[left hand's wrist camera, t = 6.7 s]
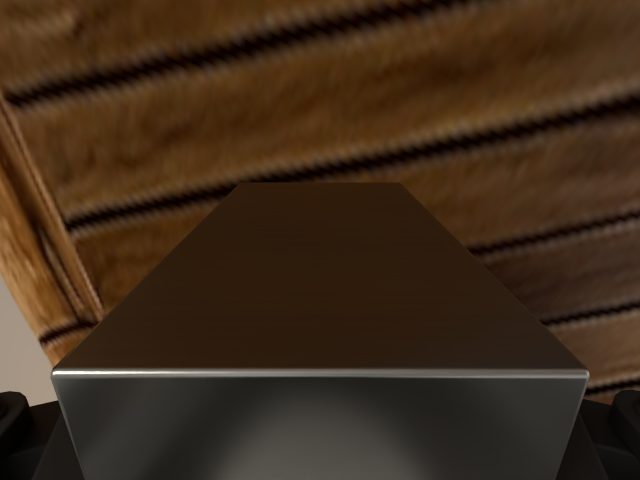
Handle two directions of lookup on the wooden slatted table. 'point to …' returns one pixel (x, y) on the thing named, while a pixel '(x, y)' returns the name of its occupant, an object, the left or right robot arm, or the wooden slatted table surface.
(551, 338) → the box
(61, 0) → the wooden slatted table surface
